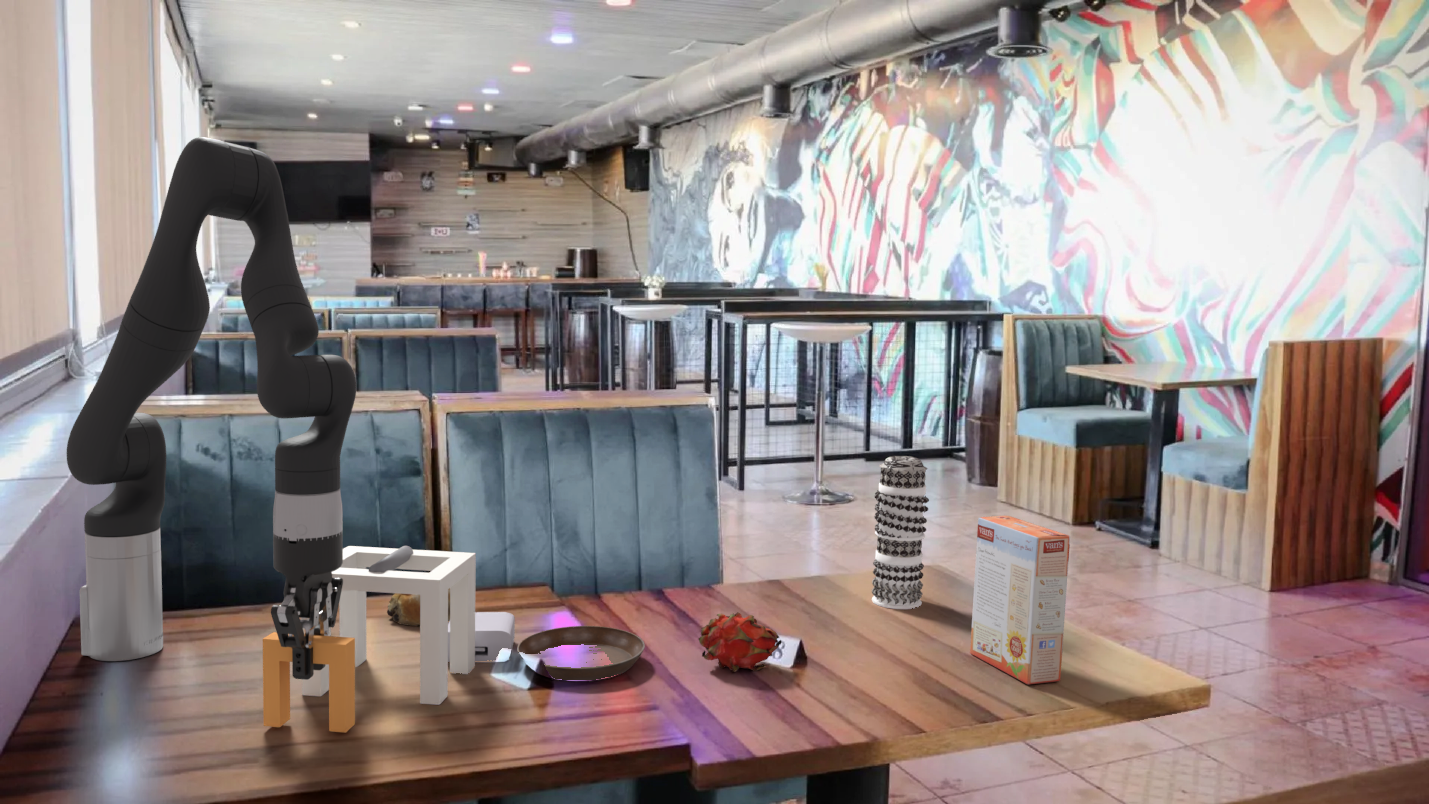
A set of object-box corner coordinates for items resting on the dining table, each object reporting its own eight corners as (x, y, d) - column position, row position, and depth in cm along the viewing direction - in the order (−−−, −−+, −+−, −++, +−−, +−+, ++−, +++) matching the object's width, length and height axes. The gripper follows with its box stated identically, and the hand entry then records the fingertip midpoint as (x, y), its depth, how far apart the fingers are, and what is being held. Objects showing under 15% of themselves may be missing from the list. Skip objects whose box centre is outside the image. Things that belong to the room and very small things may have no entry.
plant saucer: (519, 691, 145) (519, 669, 145) (514, 647, 162) (515, 627, 162) (653, 685, 149) (653, 663, 148) (635, 642, 166) (635, 622, 166)
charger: (517, 629, 170) (510, 663, 155) (455, 630, 169) (442, 664, 154) (517, 599, 170) (510, 630, 155) (455, 600, 169) (442, 631, 154)
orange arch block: (263, 725, 130) (262, 638, 129) (274, 717, 132) (273, 632, 131) (345, 732, 129) (345, 644, 128) (354, 723, 131) (354, 637, 130)
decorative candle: (868, 607, 187) (875, 460, 184) (870, 592, 196) (876, 452, 193) (923, 611, 185) (931, 463, 182) (922, 596, 194) (930, 455, 192)
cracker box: (1063, 682, 154) (1073, 534, 152) (1027, 686, 152) (1036, 537, 149) (1002, 650, 167) (1010, 513, 165) (968, 653, 165) (976, 515, 162)
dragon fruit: (689, 676, 156) (772, 687, 158) (702, 658, 149) (788, 670, 151) (694, 618, 161) (774, 629, 162) (706, 598, 153) (790, 610, 155)
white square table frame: (301, 695, 141) (300, 564, 139) (349, 658, 155) (348, 538, 153) (439, 704, 139) (439, 572, 137) (474, 666, 153) (475, 545, 151)
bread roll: (434, 651, 170) (457, 605, 169) (373, 621, 169) (396, 575, 168) (450, 630, 180) (472, 587, 179) (393, 602, 179) (414, 559, 178)
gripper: (305, 513, 135) (306, 651, 137) (245, 540, 121) (247, 692, 123) (364, 517, 134) (364, 655, 136) (311, 544, 121) (312, 697, 122)
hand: (309, 672), depth 130 cm, fingers closed on orange arch block, 2 cm apart
